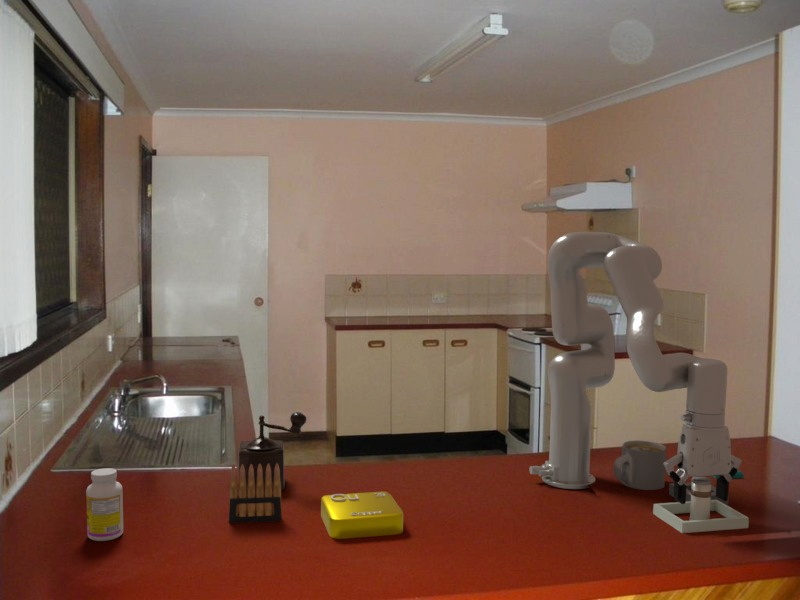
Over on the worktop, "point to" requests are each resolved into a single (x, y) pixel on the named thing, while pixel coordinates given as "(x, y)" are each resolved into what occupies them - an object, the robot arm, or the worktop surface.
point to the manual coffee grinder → (267, 449)
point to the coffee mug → (641, 465)
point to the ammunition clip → (255, 496)
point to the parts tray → (730, 522)
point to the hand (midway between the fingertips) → (700, 500)
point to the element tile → (361, 515)
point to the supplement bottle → (104, 506)
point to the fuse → (700, 498)
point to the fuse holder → (688, 493)
